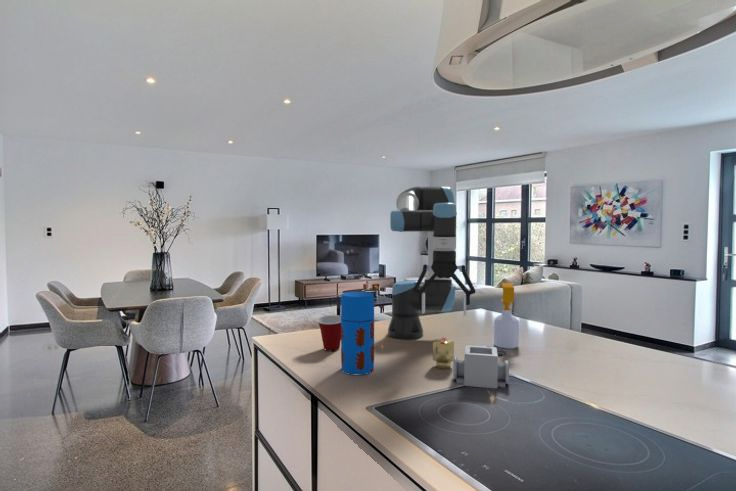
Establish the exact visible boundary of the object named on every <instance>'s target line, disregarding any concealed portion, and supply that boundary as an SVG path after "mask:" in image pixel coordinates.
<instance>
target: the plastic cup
mask: <svg viewBox="0 0 736 491" xmlns="http://www.w3.org/2000/svg"><path fill="white" fill-rule="evenodd" d="M316 322H317V323H318V325H319V328H320V334H321V341H322V345H323V349H326V350H336V351H338V350H337V349H339V350H340V348H341V315H338V314H337V315H336V314H332V315H331V314H330V315H323V316H321V317H318V318H317V319H316ZM326 350H325V351H326Z"/></svg>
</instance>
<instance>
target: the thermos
mask: <svg viewBox="0 0 736 491" xmlns="http://www.w3.org/2000/svg"><path fill="white" fill-rule="evenodd" d="M340 316H341V341H340V351H341V352H340V357H341V359H340V360H341V371H342V370H343V371H344V372H346V373H349V374H366V373H369V374H371V373H373V372H372V371H374V370H375V368H374V367H375V296H374V293H373V292H367V291H348V292H347V291H345V292H342V293H341V296H340ZM344 372H343V373H344ZM370 372H371V373H370ZM346 373H345V374H346ZM349 374H348V375H349ZM366 375H367V374H366Z"/></svg>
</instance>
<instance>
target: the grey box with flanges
mask: <svg viewBox="0 0 736 491" xmlns="http://www.w3.org/2000/svg"><path fill="white" fill-rule="evenodd" d="M497 348H498V347H497V346H484V345H483V346H481V345H469V344H468V345H466V344H465V348H464V360H463V359H462V360H459V359H458V356H454V361H452V363H453V364H452V365H453V367H452V370H453V371H452V377H453V380H456V384H462V385H464V386H465V387H477V388H478V387H479V388H486V389H487V388H488V389H498V388H506V385H509V383H510V363H509V362H510V361H509V360H506V359H505V360H504V362H503V363H500V362H498V360H499V355H498V349H497Z"/></svg>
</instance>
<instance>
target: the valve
mask: <svg viewBox="0 0 736 491" xmlns="http://www.w3.org/2000/svg"><path fill="white" fill-rule="evenodd" d="M454 357H455V341H454V340H452V339H448V338H446V337H442V338H436V339H433V340H432V360H433V361H435V367H436V368H437V369H440V370H446V369H447V370H448V369H451V366H452V364H451V363H453V362H454Z"/></svg>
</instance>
